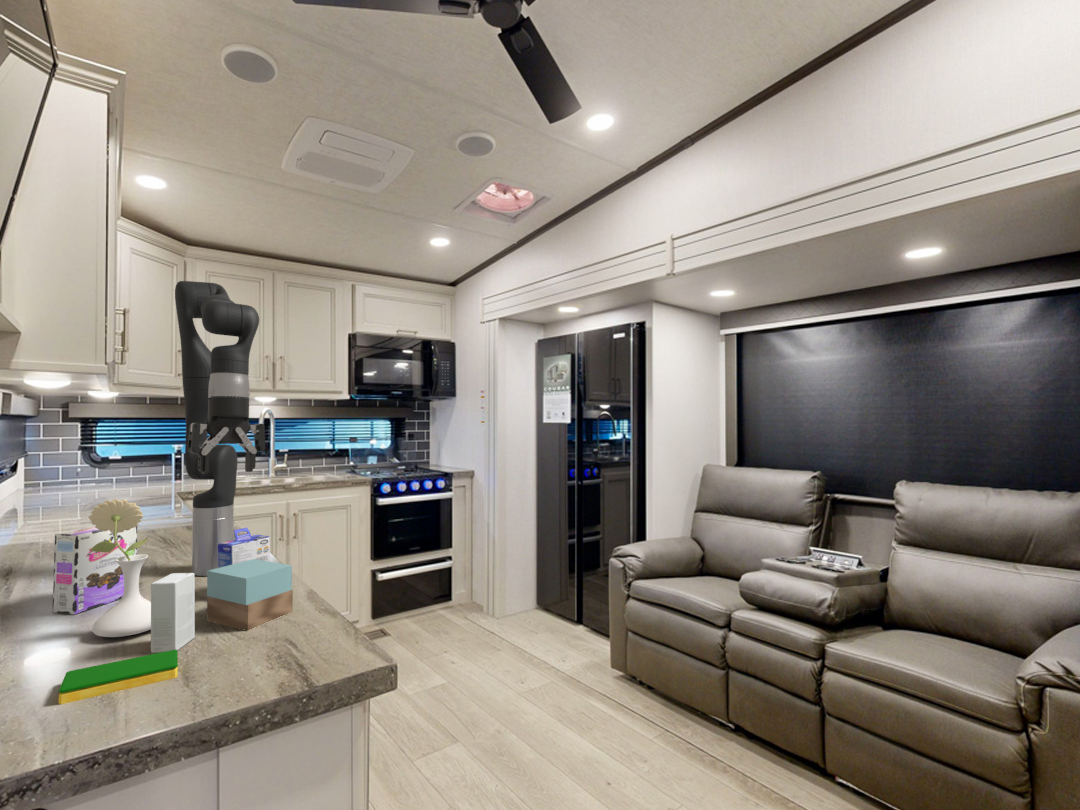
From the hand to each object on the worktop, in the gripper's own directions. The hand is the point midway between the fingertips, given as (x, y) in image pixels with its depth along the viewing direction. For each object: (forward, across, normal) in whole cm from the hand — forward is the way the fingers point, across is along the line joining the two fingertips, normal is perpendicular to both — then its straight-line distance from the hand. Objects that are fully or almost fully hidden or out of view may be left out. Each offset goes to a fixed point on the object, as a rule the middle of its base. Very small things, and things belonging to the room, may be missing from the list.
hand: (227, 472), depth 111 cm
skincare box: (+30, +12, +10) cm, 34 cm away
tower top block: (+24, -2, +6) cm, 25 cm away
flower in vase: (+29, +15, -4) cm, 33 cm away
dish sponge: (+31, +21, +19) cm, 42 cm away
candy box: (+28, +15, -28) cm, 43 cm away
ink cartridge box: (+28, -8, -11) cm, 31 cm away
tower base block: (+29, -3, +6) cm, 30 cm away
